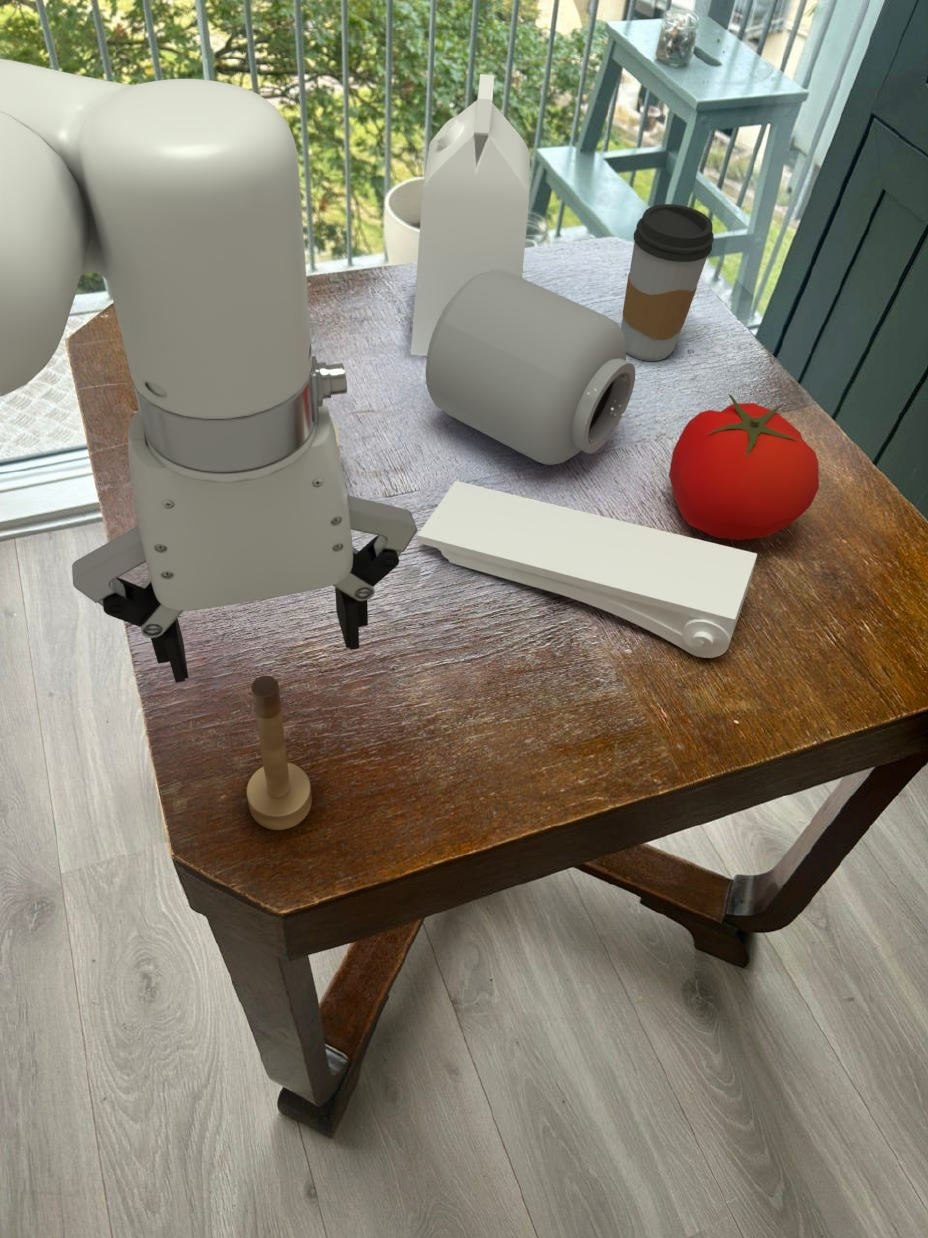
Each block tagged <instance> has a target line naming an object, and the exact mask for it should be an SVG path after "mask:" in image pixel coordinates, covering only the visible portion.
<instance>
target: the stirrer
mask: <svg viewBox="0 0 928 1238" xmlns="http://www.w3.org/2000/svg"><path fill="white" fill-rule="evenodd" d="M250 689H251V695H252V696H251V697H252V703H253V710H254V715H255V721H256V727H257V732H258V733H257V735H258V741H259V747H260V754H261V759H262V767H260V768H259V769H257V770H256V771H255V772H254V773H253V774H252V776H251V777H250V779H249V780H248V783H247V786H246V798H247V803H248V809H249V812H250V815H251V817H252V819H253V820H254V821H255V822H256V824H258V825H259V826H261V827H263V828H265V829H267V830H273V831H282V830H287V829H291V828H293V827H295V826H297V825H299V824H300V823H301V822H302V821H304V819H306V817H307V816H308V814H309V812H310V811H311V807H312V800H313V799H312V787H311V780H310V778H309V776H308V774H307V773H306V772H305V771H304V769H302V768H301V767H299V766H298V765H296V764H294V763H292V762H288V756H287V755H288V754H287V749H286V748H287V747H286V739H285V738H286V737H285V730H284V722H283V713H282V703H281V694H280V686H279V682H278V680H277V679H276V678H275V677H274V676H271V675H260V676H258V677H256V678H255V679H254V680H253V681H252V683H251V685H250Z"/></svg>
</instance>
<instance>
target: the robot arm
mask: <svg viewBox="0 0 928 1238" xmlns="http://www.w3.org/2000/svg"><path fill="white" fill-rule="evenodd" d="M303 221H304V219H303V207H302V191H301V177H300V166H299V158H298V149H297V144H296V141H295V138H294V135H293V132H292V130H291V127H290V126H289V124H288V121H287V120H286V118H285V117H284V116H283V115H282V113H281V112H280V111H279V109H278V108H277V107H276V106H275V105H274V104H273V103H271V102H270V101H269V100H267V99H266V98H265V97H263V96H261V95H260V94H259V93H257V92H254V91H253V90H250V89H248V88H245V87H242V86H239V85H237V84H232V83H228V82H224V81H216V80H212V79H211V80H210V79H200V78H169V79H160V80H154V81H147V82H142V83H138V84H135V85H134V84H129V83H122V82H117V81H111V80H110V81H109V80H105V79H100V78H96V77H95V78H94V77H90V76H86V75H85V76H84V75H80V74H76V73H71V72H66V71H61V70H56V69H52V68H48V67H43V66H39V65H35V64H30V63H26V62H22V61H16V60H11V59H6V58H0V397H4V396H6V395H8V394H10V393H12V392H14V391H17V390H18V389H21V388H22V387H24V386H26V385H27V384H29V383H30V382H31V381H32V380H33V379H34V378H35V377H37V376H38V374H40V373H41V372H42V371H43V370H44V369H45V368H46V366H47V365H48V363H49V362H50V361H51V359H52V358H53V356H54V354H55V353H56V351H57V350H58V348H59V345H60V343H61V340H62V338H63V336H64V334H65V330H66V326H67V324H68V321H69V317H70V314H71V310H72V307H73V304H74V301H75V297H76V295H77V290H78V286H79V283H80V280H81V279H80V278H81V277H83V276H84V275H86V274H88V273H95V274H97V275H100V276H102V277H103V278H104V279H105V280H106V282H107V283H108V286H109V290H110V294H111V298H112V302H113V307H114V310H115V315H116V318H117V319H116V320H117V322H118V327H119V331H120V335H121V340H122V344H123V348H124V352H125V357H126V359H127V364H128V368H129V369H128V370H129V373H130V377H131V380H132V385H133V389H134V390H133V391H134V394H135V398H136V402H137V406H138V410H137V411H136V412H135V413H134V414H133V416H132V417H130V420H129V423H128V432H127V438H128V439H127V452H128V454H127V455H128V467H129V476H130V481H131V482H130V484H131V490H132V496H133V501H134V508H135V513H136V514H135V515H136V519H137V524H138V525H137V526H135V527H133V528H131V529H129V530H128V531H126V532H124V533H122V534H121V535H119V536H117V537H115V538H114V539H112V540H110V541H108V542H106V543H105V544H103V545H101V546H100V547H98V548H96V549H94V550H92V551H91V552H89V553H87V554H85V555H84V556H82V557H80V558H78V559H77V560H74V562H73V563H72V565H71V571H72V572H71V573H72V585H73V588H75V589H76V590H77V591H78V592H80V593H81V594H83V595H84V596H85V597H87V598H88V599H90V600H91V601H92V602H93V603H95V604H97V603H98V604H99V605H100V606H101V607H102V610H103V612H104V614H106V615H107V616H109V617H112V618H115V619H118V620H120V621H123V622H125V623H128V624H130V625H134V626H137V627H139V628H140V633H141V635H142V636H143V637H145V638H150V641H151V643H152V648H153V652H154V654H155V657H156V661H157V663H158V665H159V664H164V663H169V665H170V668H171V672H172V674H173V675H172V676H173V678H174V682H175V683H183V682H186V679H189V672H188V665H187V657H186V651H185V650H186V649H185V644H184V643H185V642H184V637H183V634H182V630H181V626H180V621H179V617H180V616H181V615H182V614H183V612H184V611H198V610H200V611H201V610H206V609H207V610H208V609H214V608H219V607H226V606H232V605H239V604H245V603H251V602H258V601H263V600H268V599H273V598H280V597H286V596H292V595H296V594H301V593H306V592H307V593H308V592H311V591H312V592H313V591H317V590H321V589H325V588H329V587H332V586H333V587H334V593H335V609H336V610H335V611H336V617H337V620H338V624H339V628H340V630H341V634H342V638H343V641H344V645H345V649H349V650H350V651H354V650H359V649H360V629H359V628H361V627H368V625H369V611H368V610H369V609H368V608H369V607H368V600H370V599H372V598H373V597H374V595H375V593H376V591H375V586H376V585H377V584H378V583H379V582H380V581H382V580H383V579H384V578H385V577H386V576H388V574H390V573H391V572H392V571H393V570H395V568H397V567H398V566H399V564H400V556H401V554H402V553H404V552H405V551H406V549H407V548H408V546H409V545H410V543H411V542H412V541H413V539H414V537H415V536H416V534H417V533H418V526H417V524H416V522H415V520H414V516H413V514H412V512H411V510H409V509H407V508H402V507H398V506H394V505H390V504H387V503H386V504H385V503H382V502H377V501H374V500H369V499H364V498H362V497H361V498H360V497H357V496H353V495H348V494H347V493H348V492H347V488H346V481H345V475H344V471H343V466H342V462H341V461H342V460H341V455H340V456H339V451H338V446H337V441H336V434H335V430H334V426H333V422H332V419H333V418H332V419H331V417H332V416H331V412H330V409H329V407H328V405H327V402H326V400H328V399H331V398H332V396H335V395H344V394H347V393H348V382H347V375H346V370H345V366H344V364H343V363H342V362H341V363H331V364H327V362H326V361H323V362H322V361H321V362H318V360H317V357H316V355H312V354H313V353H312V340H311V326H310V309H309V296H308V295H309V294H308V280H307V279H308V278H307V265H306V251H305V250H306V249H305V239H304V238H305V237H304V236H305V235H304V223H303ZM352 531H356V532H361V533H365V534H370V535H374V536H375V537H374V538H372V539H371V540H370V541H369V542H368V543H366V545H364V546H363V547H362V548H361V549H360V550H358V549H356V548H355V547H354V546H353V535H352ZM145 563H146V569H147V573H148V577H147V578H146V580H144V582H143V583H142V584H141V585H137V584H135V583H133V582H131V581H128V580H125V579H123V578H120V577H121V576H123V575H125V574H127V573H128V572H130V571H132V570H134V569H135V568H137V567H139V566H141V565H143V564H145Z"/></svg>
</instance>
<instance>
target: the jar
mask: <svg viewBox="0 0 928 1238" xmlns="http://www.w3.org/2000/svg"><path fill="white" fill-rule="evenodd" d="M425 364H426V365H425V385H426V388H427V392H428V395H429V397H430V399H431V400H432V402H433V404H434V406H435V407H436V408H438V409H439V410H440V411H442V412H444V413H445V414H446V415H448V416H449V417H451V418H453V419H456V420H457V421H458V422H461V423H463V424H465V425H467V426H469V427H470V428H473V429H475V430H476V431H478V432H480V433H482V434H484V435H486V436H488V437H490V438H492V439H493V440H496V441H497V442H499V443H501V444H503V445H504V446H506V447H509V448H510V449H513V450H514V451H516V452H519V453H520V454H522V455H524V456H526V457H528V458H529V459H531V460H533V461H535V462H537V463H541V464H542V465H548V466H552V465H558V464H562V463H565V462H567V461H568V460H570V459H571V458H572V457H574V456H576V455H577V454H579V453H580V452H581V451H582V452H584V453H586V454H593V453H595V452H596V451H598V450H599V449H600V448H601V447H602V446H604V445H605V444H606V442H607V441H608V439H609V438H610V437H611V436H612V434H613V433H614V432H615V430H616V428H617V427H618V425H619V423H620V422H621V420H622V418H623V417H625V413H626V409H627V407H628V405H629V403H630V401H631V397H632V394H633V392H634V387H635V383H636V367H635V365H634V364H633V363H631V362H629V361H627V353H626V344H625V337H624V335H623V333H622V331H621V326H620V325H619V324H618V322H616V321H615V320H613V319H611V318H610V317H608V316H607V315H605V314H603V313H600V312H598V311H596V310H594V309H592V308H589V307H586V306H585V305H583V304H580V303H579V302H578V303H577V302H576V301H573V300H571V299H569V298H567V297H565V296H563V295H561V294H558V293H555V292H553V291H551V290H550V289H547V288H544V287H543V286H540V285H538V284H536V283H535V282H534V283H533V282H531V281H529V280H527V279H525V278H523V277H522V278H520V277H518V276H516V275H513V274H511V273H509V272H505V271H502V270H491V271H487V272H484V273H480V274H478V275H476V276H475V277H473V278H471V279H470V280H469V281H468V282H467V283H465V284H464V285H463V286H462V287H461V288H460V289H459V290H458V292H457V293H456V294H455V295H454V296H453V297H452V299H451V300H450V301H449V303H448V304H447V306H446V307H445V309H444V310H443V312H442V314H441V316H440V318H439V319H438V322H437V324H436V326H435V329H434V331H433V334H432V337H431V340H430V343H429V348H428V353H427V356H426V363H425ZM627 419H629V420H630V419H633V415H632V414H628V416H627ZM654 421H655V423H658V422H659V419H658V418H655V420H654ZM634 425H635V426H636V427H640V426H641V423H640V421H636V422H635V423H634ZM666 435H667V431H666V430H665V429H661V431H660V432H659V433H657V434H656V435H655V437H656V439H660V437H661V436H662V437H664V436H666ZM646 436H647V437H650V436H651V433H649V432H648V433H646ZM668 439H669V440H673V439H674V436H673V434H669V435H668Z"/></svg>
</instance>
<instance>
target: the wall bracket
mask: <svg viewBox="0 0 928 1238" xmlns="http://www.w3.org/2000/svg"><path fill="white" fill-rule="evenodd" d="M416 540H417V544H420V545H424V546H427V547H432V548H436V549H438V551H439V552H441V554H442V556H443V558H445V559H447V560H448V563H450V564H453V565H457V566H461V567H464V568H468V569H471V570H475V571H478V572H481V573H485V574H488V575H492V576H495V577H498V578H501V579H502V578H503V579H506V580H509V581H513V582H516V583H518V584H519V583H520V584H523V585H526V586H530V587H533V588H536V589H541V590H544V591H547V592H550V593H554V594H557V595H562V596H563V597H567V598H570V599H573V600H576V601H578V602H581V603H584V604H587V605H589V606H592V607H595V608H597V609H600V610H602V611H605V612H608V613H610V614H612V615H615V616H617V617H619V618H622V619H623V620H626V621H628V622H630V623H632V624H634V625H636V626H639V627H640V628H642V629H645V630H647V631H649V632H651V633H653V634H655V635H657V636H658V637H661V638H662V639H664V640H666V641H668V642H670V643H671V644H673V645H675V646H677V647H679V648H680V649H682V650H684V651H685V652H686V653H689V654H690V655H692V656H695V657H699V658H704V659H712V658H717V657H720V656H722V655H724V654H725V653H726V651H727V650H728V649H729V647H730V644H731V641H732V638H733V634H734V632H735V629H736V627H737V623H738V620H739V617H740V614H741V611H742V608H743V605H744V601H745V600H746V596H747V593H748V590H749V589H750V585H751V582H752V580H753V579H752V578H753V573H754V570H755V569H754V568H755V565H756V561H757V557H758V553H757V552H752V551H747V550H744V549H740V548H736V547H731V546H727V545H723V544H719V543H715V542H710V541H706V540H702V539H698V538H694V537H689V536H686V535H682V534H679V533H674V532H669V531H665V530H662V529H657V528H652V527H648V526H644V525H640V524H636V523H632V522H628V521H623V520H619V519H616V518H612V517H607V516H602V515H598V514H594V513H591V512H586V511H583V510H578V509H575V508H570V507H566V506H563V505H562V506H561V505H557V504H553V503H549V502H545V501H541V500H537V499H532V498H528V497H525V496H521V495H516V494H512V493H508V492H504V491H500V490H496V489H492V488H487V487H483V486H479V485H475V484H471V483H466V482H462V481H459V480H455V481H454V482H453V484H452V485H451V486H450V487H449V489H448V490H447V492H446V493H445V495H444V496H443V497H442V499H441V501H440V502H439V503H438V505H437V506H436V508H435V509H434V510H433V512H432V513H431V515H430V516H429V517H428V519H427V521H425V523H424V525H423V526H422V528H421V529H420V530H419V531H418V532H417V535H416Z"/></svg>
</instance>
